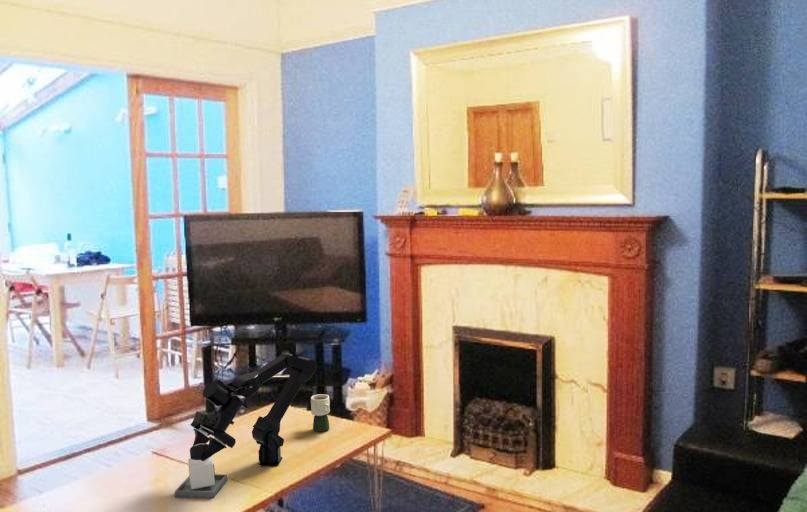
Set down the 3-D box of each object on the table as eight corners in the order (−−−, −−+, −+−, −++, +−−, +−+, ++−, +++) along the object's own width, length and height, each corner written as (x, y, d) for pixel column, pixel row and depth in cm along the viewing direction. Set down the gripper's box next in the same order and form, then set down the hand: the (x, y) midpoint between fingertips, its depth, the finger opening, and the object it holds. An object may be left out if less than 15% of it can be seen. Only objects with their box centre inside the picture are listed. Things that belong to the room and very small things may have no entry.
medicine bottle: (215, 485, 202) (213, 447, 201) (191, 490, 200) (188, 452, 198) (213, 476, 209) (210, 439, 207) (189, 480, 206) (186, 443, 205)
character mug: (337, 431, 250) (336, 397, 248) (322, 436, 245) (320, 402, 244) (320, 423, 258) (319, 391, 256) (305, 428, 253) (304, 396, 252)
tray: (227, 480, 210) (227, 474, 209) (213, 498, 198) (213, 492, 198) (191, 480, 211) (190, 474, 210) (175, 497, 199) (174, 491, 199)
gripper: (194, 394, 211) (163, 437, 204) (224, 407, 198) (192, 454, 191) (217, 411, 217) (189, 454, 211) (248, 424, 204) (218, 470, 198)
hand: (196, 457), depth 202 cm, fingers closed on medicine bottle, 6 cm apart
